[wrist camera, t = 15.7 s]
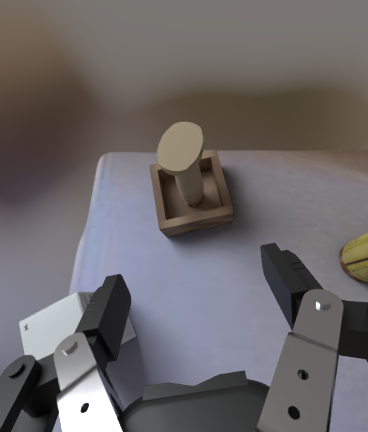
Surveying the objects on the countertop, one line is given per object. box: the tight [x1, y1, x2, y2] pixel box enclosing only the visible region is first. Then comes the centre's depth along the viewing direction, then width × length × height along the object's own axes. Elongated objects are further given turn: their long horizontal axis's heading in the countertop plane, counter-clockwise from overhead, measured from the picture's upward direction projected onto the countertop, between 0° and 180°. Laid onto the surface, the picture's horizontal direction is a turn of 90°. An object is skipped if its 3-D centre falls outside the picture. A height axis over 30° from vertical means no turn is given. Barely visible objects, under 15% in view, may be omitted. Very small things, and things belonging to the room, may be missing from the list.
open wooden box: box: [150, 149, 234, 237], centre depth 38 cm, size 11×11×5 cm
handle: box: [157, 122, 204, 207], centre depth 32 cm, size 5×6×15 cm
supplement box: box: [19, 292, 136, 360], centre depth 29 cm, size 7×7×13 cm
